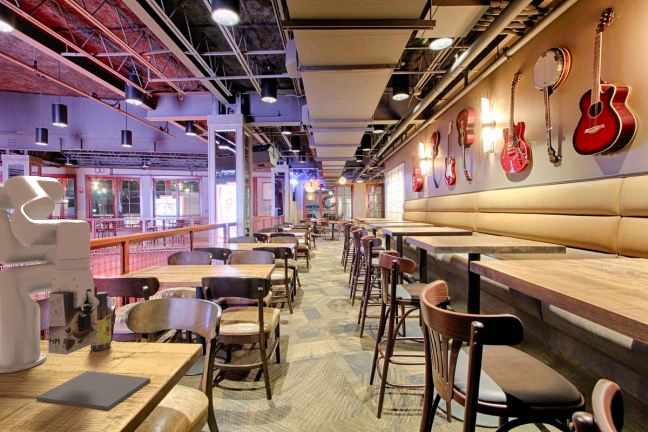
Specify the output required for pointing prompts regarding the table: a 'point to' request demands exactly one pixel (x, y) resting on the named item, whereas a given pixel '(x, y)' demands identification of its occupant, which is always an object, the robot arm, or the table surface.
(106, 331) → the sauce bottle
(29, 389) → the table surface
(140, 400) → the table surface
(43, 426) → the table surface
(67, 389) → the rubber mat
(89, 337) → the coffee box
